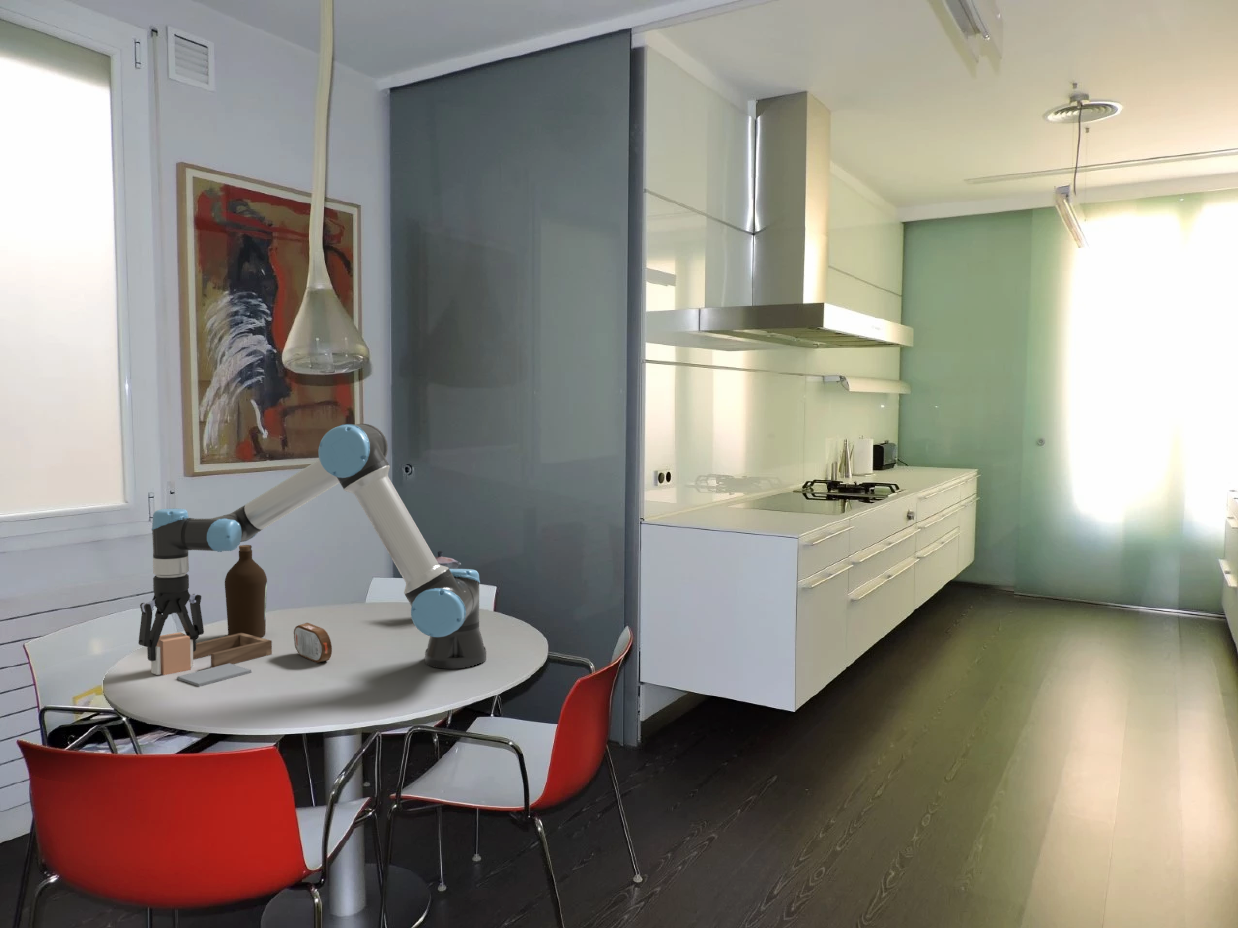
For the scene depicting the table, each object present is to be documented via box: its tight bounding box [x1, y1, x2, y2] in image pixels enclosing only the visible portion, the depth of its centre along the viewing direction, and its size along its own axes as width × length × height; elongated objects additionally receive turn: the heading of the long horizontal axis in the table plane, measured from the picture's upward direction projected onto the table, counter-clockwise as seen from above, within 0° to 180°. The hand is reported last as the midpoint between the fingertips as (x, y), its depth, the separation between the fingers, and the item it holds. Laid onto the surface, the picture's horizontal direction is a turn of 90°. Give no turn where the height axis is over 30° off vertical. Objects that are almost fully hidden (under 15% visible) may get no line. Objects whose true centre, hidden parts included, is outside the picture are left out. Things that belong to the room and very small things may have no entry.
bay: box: [193, 633, 273, 668], centre depth 222 cm, size 13×16×4 cm
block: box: [157, 632, 192, 676], centre depth 211 cm, size 6×6×8 cm
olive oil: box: [224, 544, 268, 638], centre depth 241 cm, size 11×11×25 cm
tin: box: [293, 622, 333, 664], centre depth 221 cm, size 15×3×8 cm, turn 47°
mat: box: [176, 663, 252, 687], centre depth 207 cm, size 9×13×1 cm
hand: (172, 669), depth 210 cm, fingers open, 7 cm apart
